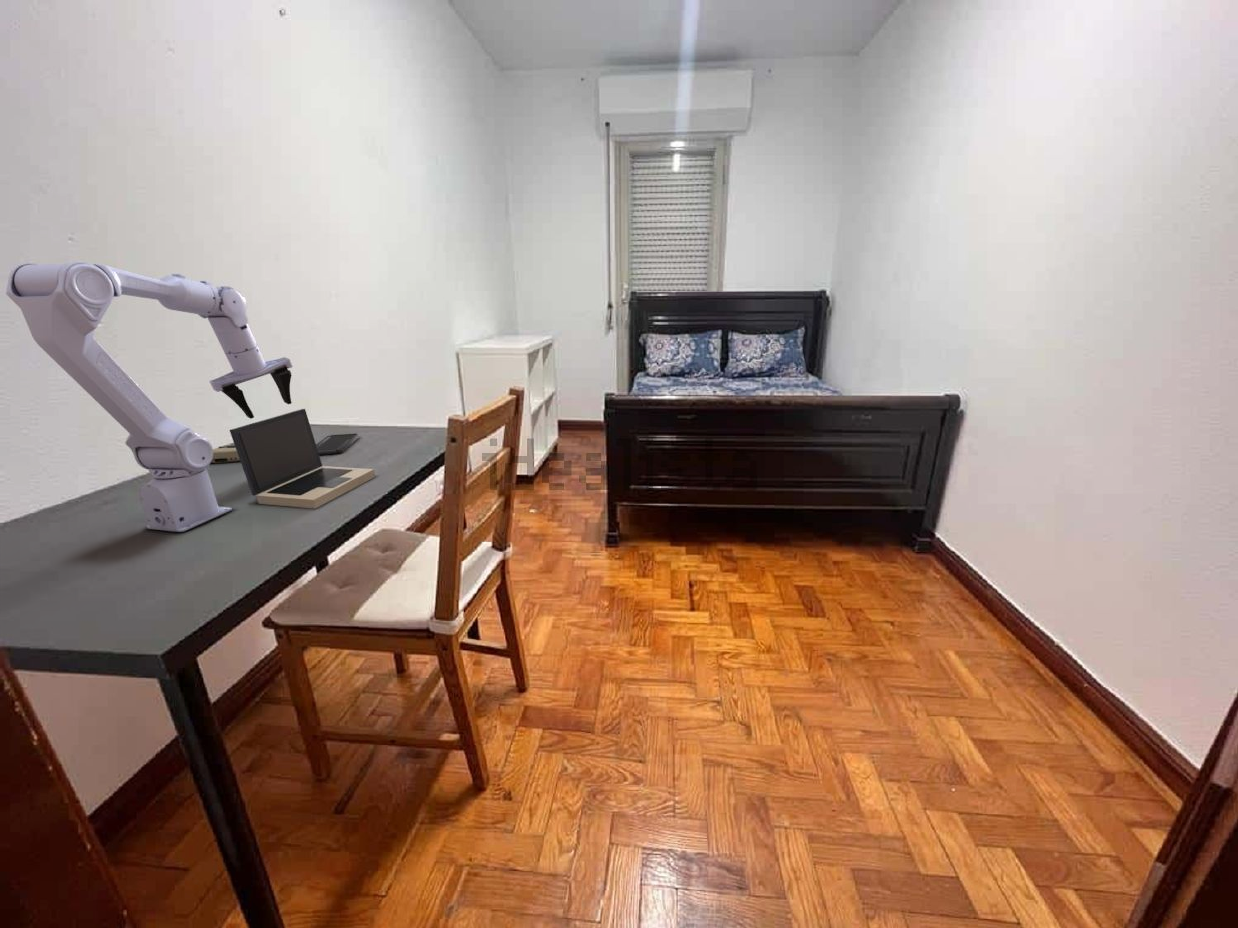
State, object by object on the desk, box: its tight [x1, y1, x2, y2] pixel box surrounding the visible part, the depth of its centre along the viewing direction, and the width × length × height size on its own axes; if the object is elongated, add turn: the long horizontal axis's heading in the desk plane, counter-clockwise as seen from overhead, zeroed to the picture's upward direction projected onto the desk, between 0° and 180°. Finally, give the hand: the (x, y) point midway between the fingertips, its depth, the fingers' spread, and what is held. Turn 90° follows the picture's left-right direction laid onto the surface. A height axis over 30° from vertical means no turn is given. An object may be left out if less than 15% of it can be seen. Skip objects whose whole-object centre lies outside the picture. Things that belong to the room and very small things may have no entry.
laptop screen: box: [229, 408, 323, 496], centre depth 105 cm, size 13×17×1 cm
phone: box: [316, 433, 359, 456], centre depth 134 cm, size 8×1×15 cm
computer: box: [210, 444, 241, 464], centre depth 127 cm, size 16×8×3 cm, turn 99°
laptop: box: [255, 465, 376, 510], centre depth 105 cm, size 13×17×2 cm
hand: (269, 409), depth 110 cm, fingers open, 7 cm apart
